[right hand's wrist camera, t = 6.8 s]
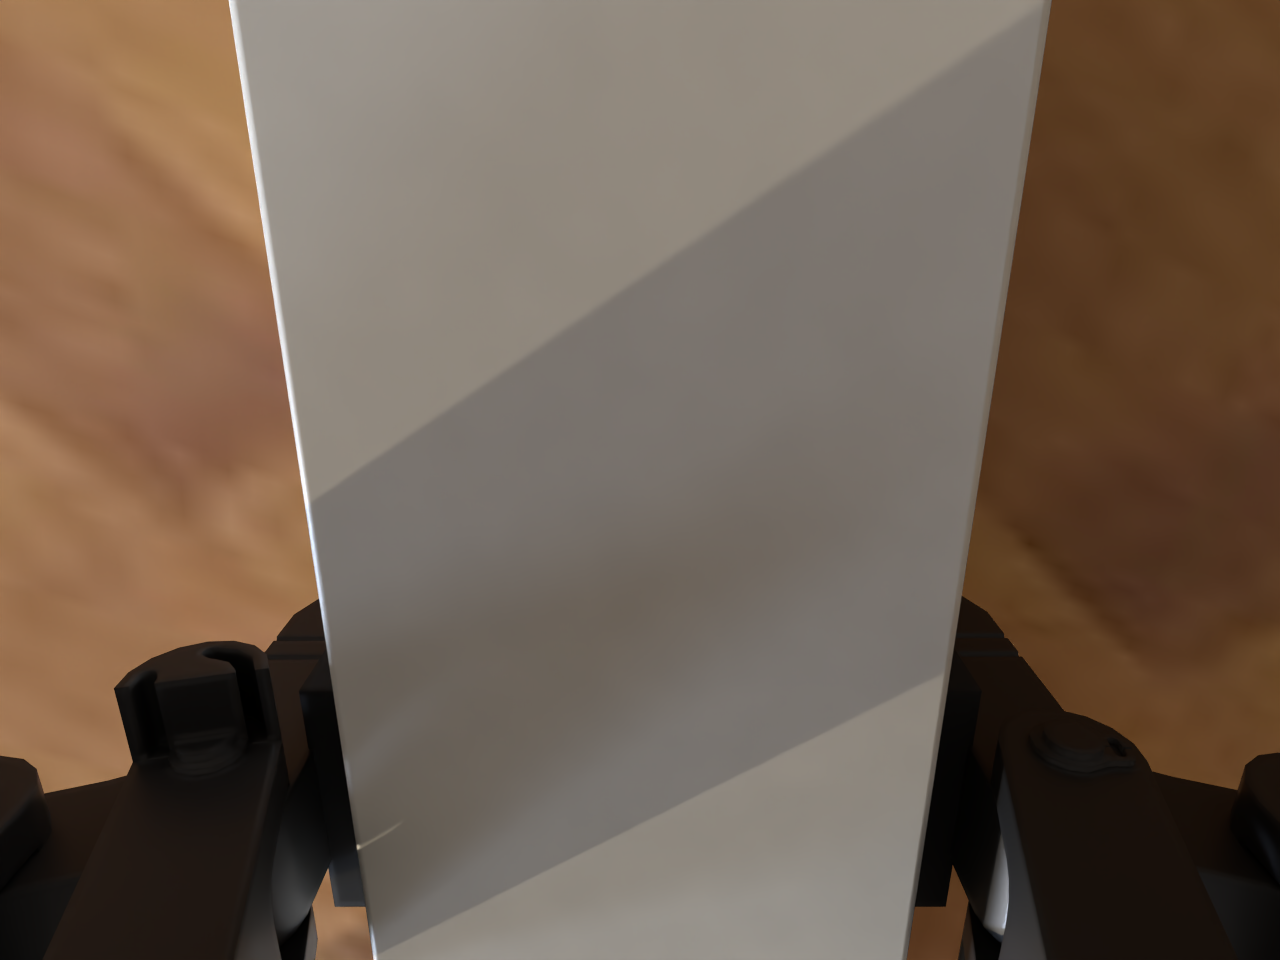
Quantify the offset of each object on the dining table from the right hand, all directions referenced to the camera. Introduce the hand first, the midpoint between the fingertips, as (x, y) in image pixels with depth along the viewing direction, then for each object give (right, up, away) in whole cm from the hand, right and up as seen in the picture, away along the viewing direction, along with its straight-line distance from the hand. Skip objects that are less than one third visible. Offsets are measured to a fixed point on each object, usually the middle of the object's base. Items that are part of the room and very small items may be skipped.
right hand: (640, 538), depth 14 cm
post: (0, -19, +8) cm, 20 cm away
